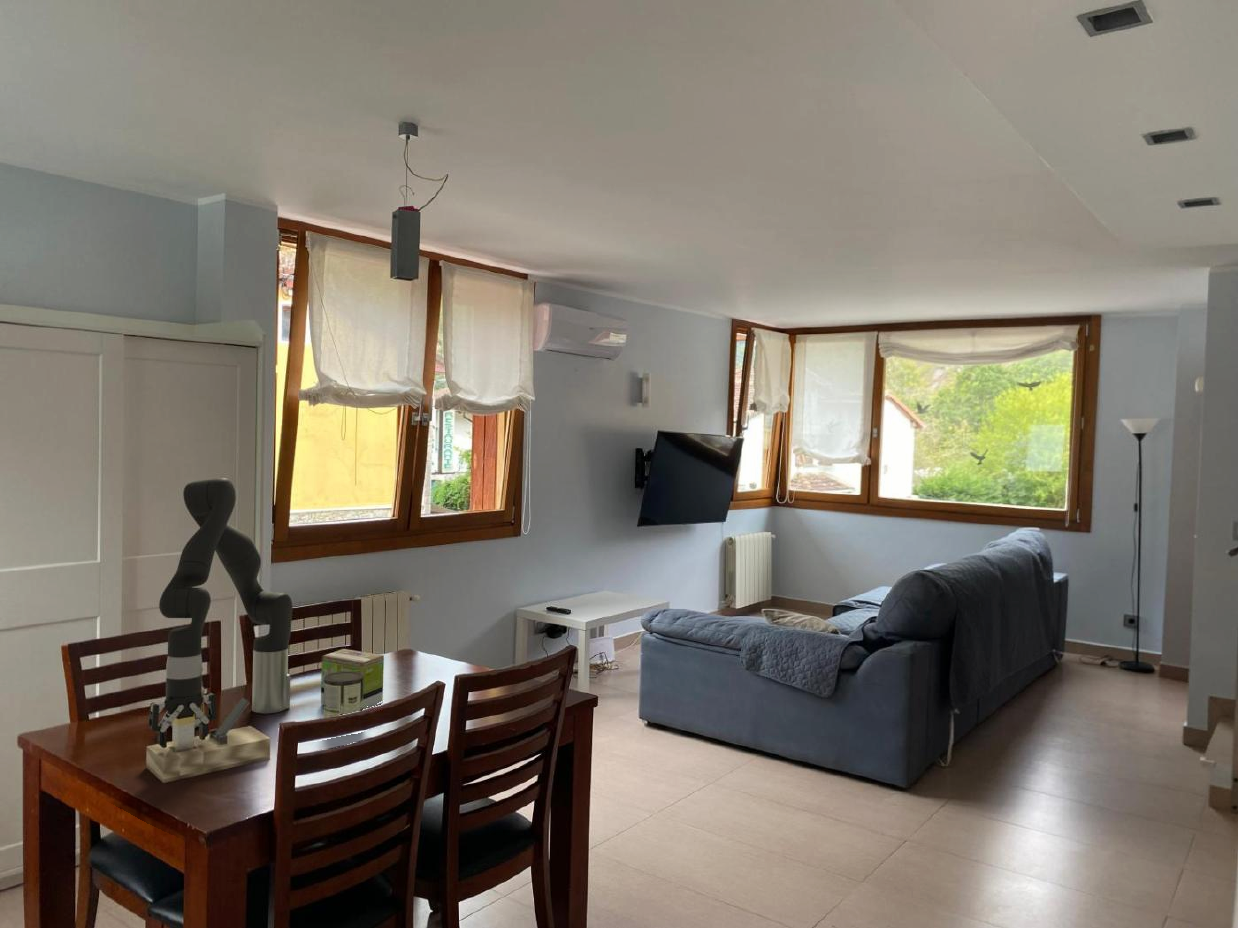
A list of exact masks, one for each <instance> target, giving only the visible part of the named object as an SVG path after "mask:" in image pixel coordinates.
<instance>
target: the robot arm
mask: <svg viewBox="0 0 1238 928" xmlns="http://www.w3.org/2000/svg"><path fill="white" fill-rule="evenodd" d="M182 497H183V501H184V505H185V507H186V509H187V511H188V513H189V514H190V515H191V518H193V520H194V521H195V523H196V524H197V525H198V527H199V529H198V530H197V531H196V532H195V533H194V534H193V535H192V537H190V538H189V540H188V541H187V542H186V544H185V545H184V546H183V549H182V551H181V554H180V558H179V562H178V566H177V569H176V571H175V573H174V575H173V577H172V578H171V579H170V581H169V583H168V584H167V585H166V587H165V588H164V590H163V592H162V594H161V596H160V598H159V602H158V603H159V605H158V608H159V611H160V613H161V615H162V616H163V617H164V618H167V619H191V622H190V623H189V625H187V626H181V627H176V628H173V629H172V630H169V633H168V635H167V636H168V637H167V660H166V666H165V668H166V669H165V671H166V672H165V699H164V702H155V701H153V702H151V703H150V704H149V714H148V715H149V716H148V717H149V718H148V728H149V729H150V730H151V731H153V732H157V744H159V745H160V746H161V747H162V748H166V747H167V742H168V741H167V740H168V731H167V729H168V728H169V727H170V726H171V725H170V724H172V723H173V721H174V720H175V718H176V719H177V718H183V717H189V716H193V715H196V716H197V718H198V719H199V720H200V721H201V722H200V723H199V727H198V728H199V729H198V736H199V738H200V739H201V740H205V738H206V737H207V736H208V734H209V724H210V722H212V721H215V720H216V719H218V713H217V712H218V711H217V695H216V694H214V693H212V692H208V693H207V694H204V696H202V686H203V685H202V682H203V670H204V668H203V658H202V637H203V636H202V635H203V631H204V630H203V629H204V626H205V622H206V619H207V616H208V612H209V610H210V607H211V603H212V601H211V599H212V598H211V595H210V592H209V591H208V590H207V589H206V588H204V587H199V586H202V585H204V584H205V583H207V581H208V579H209V576H210V572H211V568H212V563H213V560H214V556H215V553H216V555H217V556H218V559H219V561H220V562H221V564H222V565H223V568H224V569H225V572H226V573H227V574H228V576H229V577H230V579H231V581H232V583H233V585H234V587H235V589H236V591H237V593H238V595H239V597H240V601H241V603H242V605H243V608H244V610H245V612H246V614H247V616H248V618H249V620H250V621H251V622H253V623H255V624H258V625H264V626H266V625H267V626H269V630H268V631H269V632H268V633H267V634H265V635H261V636H259V637H256V638H255V639H254V640H253V646H252V647H253V648H252V649H253V650H252V655H253V657H252V659H253V660H252V692H251V693H252V695H251V696H252V697H251V698H252V700H251V701H252V702H251V710H252V712H254V713H257V714H274V713H279V712H282V711H285V710H287V709H290V708H291V707H290V706H291V674H289V673H288V669H289V663H288V662H289V642H290V639H291V633H292V631H291V629H292V620H293V619H292V618H293V617H292V616H293V602H292V598H291V597H290V595H289V594H288V593H285V592H276V591H266V590H264V589H263V588H262V587H261V585H260V583H259V581H258V577H259V573H260V569H261V565H262V559H261V555H260V553H259V551H258V549H257V547H256V545H255V543H254V541H253V540H252V538H251V537H249V535H247V534H245V533H244V532H243V531H241V530H240V529H238V528H236V527H234V526H232V525H231V524H229V523H228V522H229V520H230V518H231V515H232V513H233V511H234V509H235V505H236V501H237V500H236V497H237V493H236V488H235V487H234V483H233V482H232V481H231V480H230V479H228V478H225V477H217V478H210V479H202V480H195V481H192V482H188V483H187V484H186V485H185V486H184V488H183V495H182ZM203 701H204V704H207V705H206V706H207V714H205V713H204V714H203V712H202V711H201V710H200V709H199V707H200V706H201V704H202V703H203ZM163 709H165V710H166V712H165V713H164V715H163V716H162V717H161V720H160V722H159V715H160V713H161V712H162V711H163Z"/></svg>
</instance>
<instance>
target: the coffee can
mask: <svg viewBox="0 0 1238 928" xmlns="http://www.w3.org/2000/svg"><path fill="white" fill-rule="evenodd" d="M363 679H364V675H363V674H362V673H358V672H336V673H331V674H328V675H326V676H325V677H324V705H323V719H324V718H329V717H335V716H339V715H343V714H348V713H352V712H356V711H362V710H363Z"/></svg>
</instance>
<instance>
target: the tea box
mask: <svg viewBox="0 0 1238 928" xmlns="http://www.w3.org/2000/svg"><path fill="white" fill-rule="evenodd" d="M384 656H385V655H383V654H379V653H378V654H377V653H371V652H364V651H359V650H353V649H346V648H341V649H338V650H336V651H334V652H330V653H327V654H324V655H321V674H320V675H321V676H320V677H321V678H320V679H321V680H320V681H321V682H320V704H321V705H323V706H324V677H325V676H326V675H328V674H331V673H336V672H358V673H362V674H363V675H364V679H363V709H366V708H370V707H372V706H375V705H377V703H379V702H381V701H382V702H383V700H384V698H383V697H384V695H383V694H384V670H385V669H384V668H385V667H384V665H385V664H384V663H385V662H384V661H385V657H384ZM367 706H368V707H367ZM375 707H376V706H375Z"/></svg>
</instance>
